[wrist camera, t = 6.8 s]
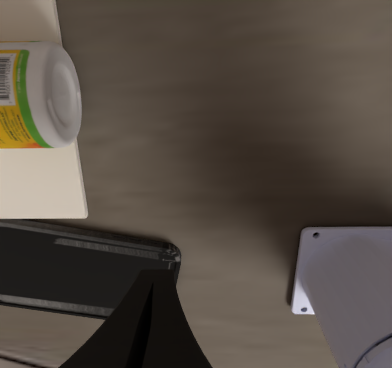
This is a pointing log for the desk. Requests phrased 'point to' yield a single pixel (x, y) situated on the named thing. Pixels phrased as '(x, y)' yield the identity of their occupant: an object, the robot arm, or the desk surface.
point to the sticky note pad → (38, 157)
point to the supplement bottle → (38, 96)
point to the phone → (73, 267)
